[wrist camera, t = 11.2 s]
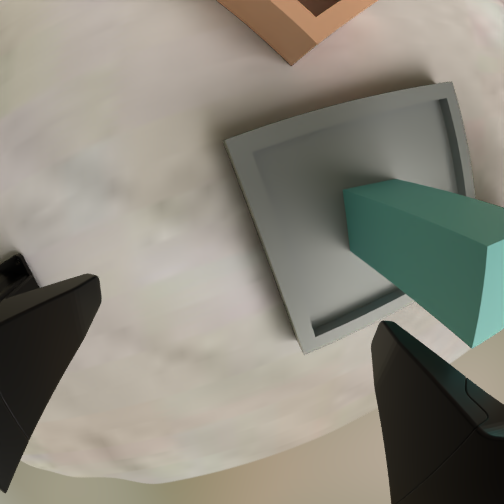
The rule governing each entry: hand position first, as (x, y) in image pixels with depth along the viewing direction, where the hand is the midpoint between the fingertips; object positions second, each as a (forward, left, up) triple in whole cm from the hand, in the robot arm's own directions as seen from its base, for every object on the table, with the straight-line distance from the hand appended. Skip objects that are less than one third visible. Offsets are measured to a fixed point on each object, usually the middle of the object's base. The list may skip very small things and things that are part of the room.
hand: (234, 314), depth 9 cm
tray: (+11, -3, -12) cm, 17 cm away
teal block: (+10, -3, -11) cm, 15 cm away
